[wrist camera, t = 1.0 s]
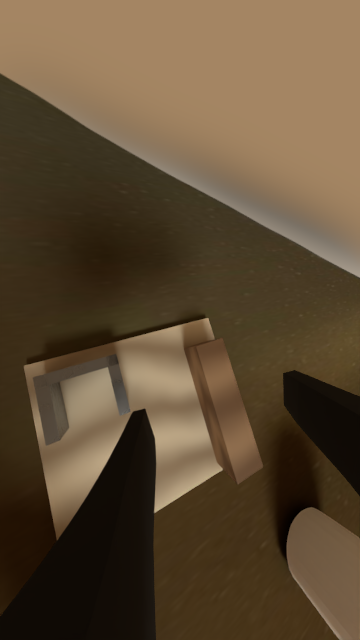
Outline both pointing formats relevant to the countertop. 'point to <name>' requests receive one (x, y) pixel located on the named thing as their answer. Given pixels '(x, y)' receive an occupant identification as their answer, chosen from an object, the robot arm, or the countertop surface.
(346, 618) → the cup
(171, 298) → the countertop surface
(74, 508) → the mounting board
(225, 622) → the countertop surface
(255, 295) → the countertop surface
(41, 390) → the bracket
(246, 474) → the rail
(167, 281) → the countertop surface
